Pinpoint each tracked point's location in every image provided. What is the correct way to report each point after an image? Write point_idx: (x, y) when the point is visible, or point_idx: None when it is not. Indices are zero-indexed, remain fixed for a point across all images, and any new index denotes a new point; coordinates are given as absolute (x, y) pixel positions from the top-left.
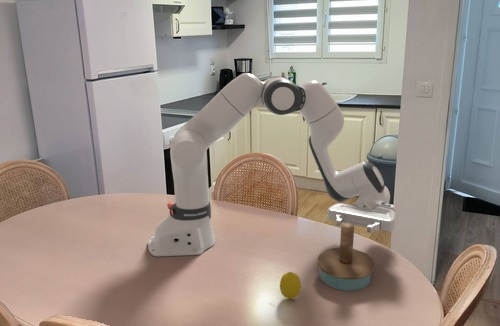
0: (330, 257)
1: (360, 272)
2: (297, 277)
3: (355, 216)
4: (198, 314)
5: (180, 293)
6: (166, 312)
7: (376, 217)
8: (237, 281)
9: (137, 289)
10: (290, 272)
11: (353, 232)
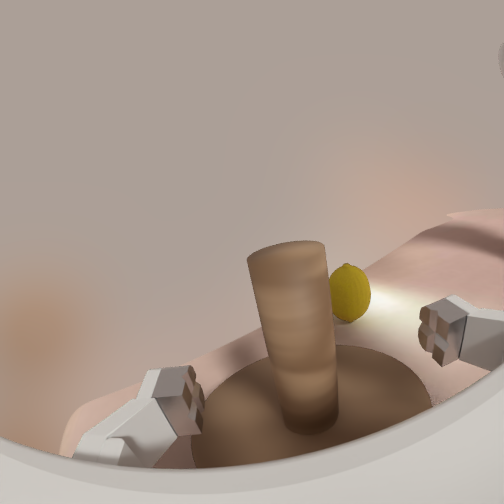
0: (374, 392)
1: (227, 391)
2: (334, 278)
3: (412, 419)
4: (396, 257)
5: (446, 253)
6: (416, 245)
7: (83, 486)
8: (449, 289)
9: (468, 237)
10: (345, 263)
11: (253, 289)
